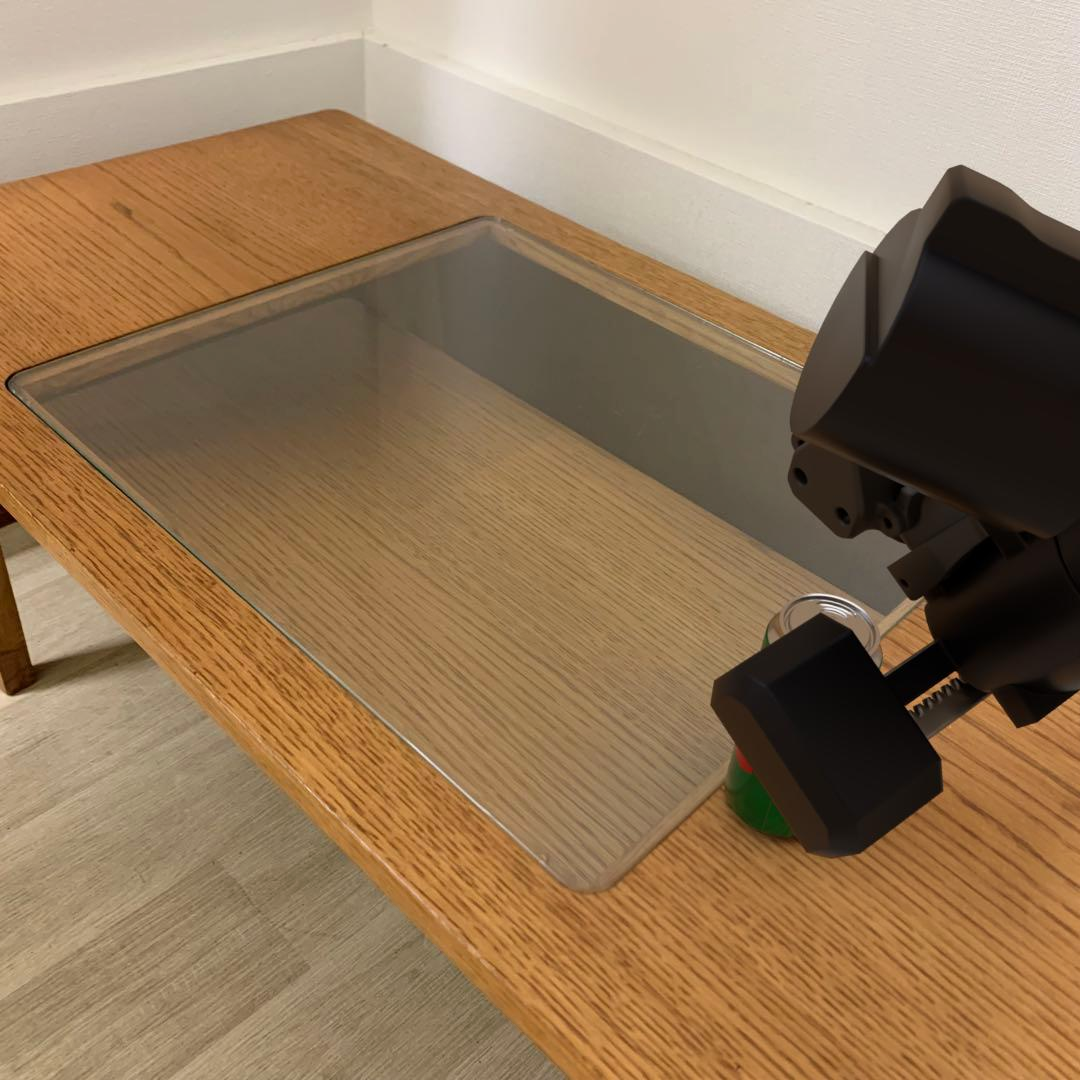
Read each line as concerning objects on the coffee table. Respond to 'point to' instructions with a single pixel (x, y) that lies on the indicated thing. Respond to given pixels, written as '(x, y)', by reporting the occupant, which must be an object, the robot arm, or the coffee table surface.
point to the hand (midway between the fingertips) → (868, 679)
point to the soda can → (740, 778)
